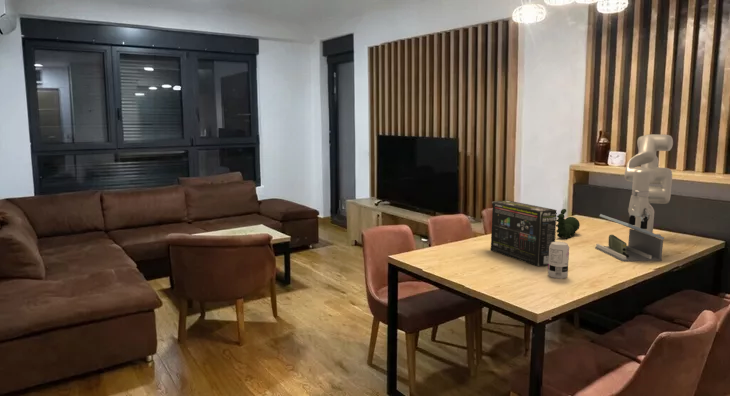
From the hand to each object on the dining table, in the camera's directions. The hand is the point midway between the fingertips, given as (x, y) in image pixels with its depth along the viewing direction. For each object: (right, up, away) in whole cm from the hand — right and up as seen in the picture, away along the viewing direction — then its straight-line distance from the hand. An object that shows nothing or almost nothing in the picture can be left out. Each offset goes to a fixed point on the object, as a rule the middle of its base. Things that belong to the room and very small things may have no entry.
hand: (637, 226), depth 261 cm
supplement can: (-54, -20, -35) cm, 68 cm away
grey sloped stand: (-5, -14, +2) cm, 15 cm away
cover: (-4, 0, 0) cm, 4 cm away
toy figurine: (-19, -8, +42) cm, 47 cm away
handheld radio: (-9, -13, +2) cm, 16 cm away
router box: (-61, -15, -3) cm, 63 cm away
